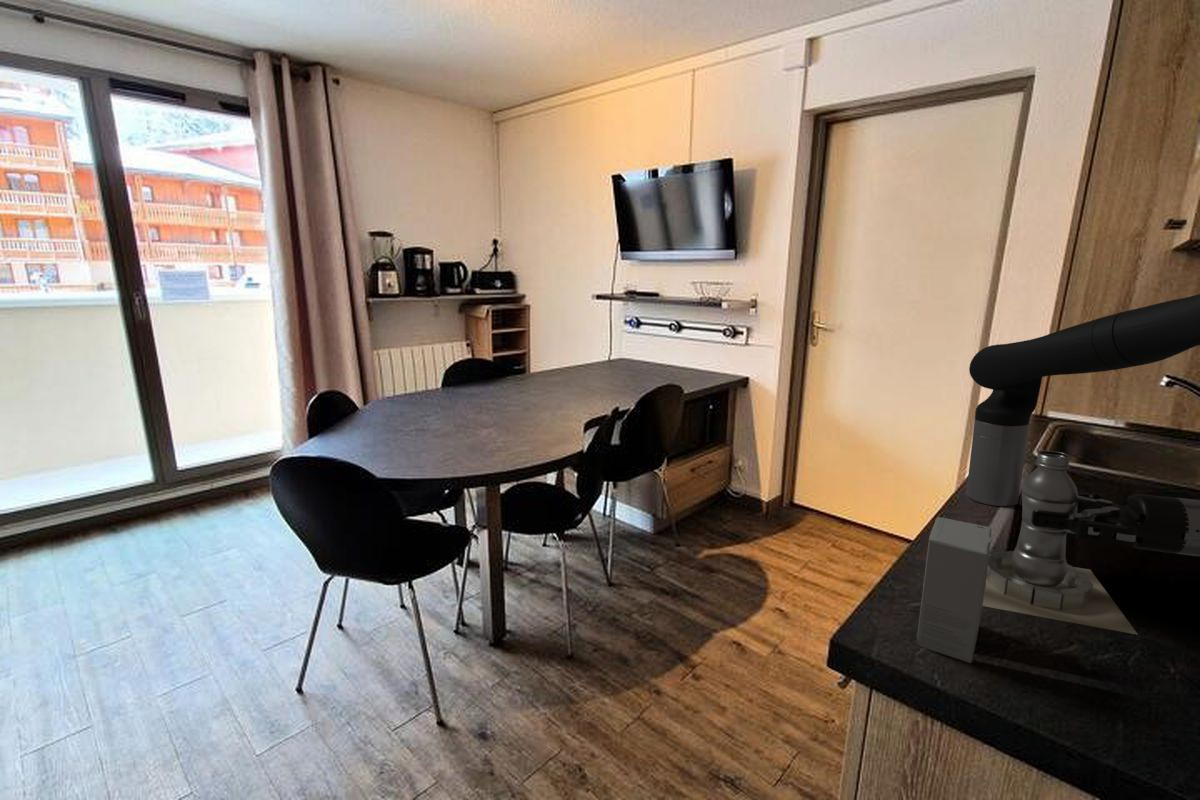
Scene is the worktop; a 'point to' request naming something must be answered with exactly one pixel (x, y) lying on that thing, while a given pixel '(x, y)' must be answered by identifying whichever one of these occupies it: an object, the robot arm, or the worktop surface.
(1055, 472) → the plastic bottle
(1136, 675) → the worktop surface
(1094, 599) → the birch board
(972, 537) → the skincare box
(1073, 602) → the steel collar
